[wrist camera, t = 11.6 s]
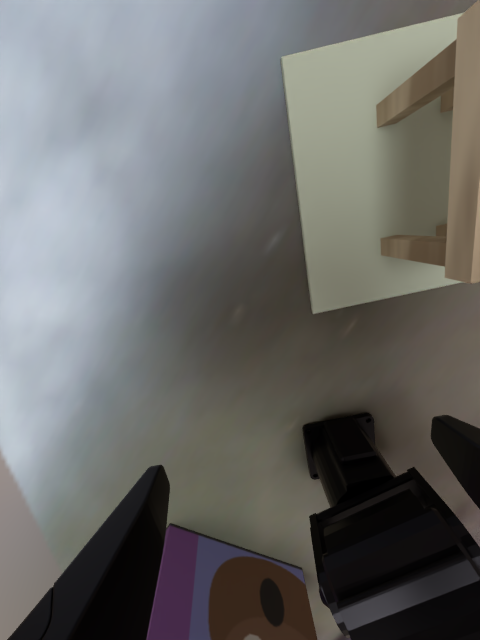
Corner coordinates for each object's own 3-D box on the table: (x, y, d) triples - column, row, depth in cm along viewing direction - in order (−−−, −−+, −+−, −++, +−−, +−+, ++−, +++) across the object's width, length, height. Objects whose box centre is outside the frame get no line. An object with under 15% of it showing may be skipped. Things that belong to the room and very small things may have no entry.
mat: (514, 269, 20) (519, 270, 20) (311, 312, 21) (313, 314, 20) (554, -6, 15) (562, -12, 15) (280, 60, 15) (281, 56, 15)
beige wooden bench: (468, 75, 16) (687, -64, 8) (457, 243, 19) (606, 254, 12) (369, 98, 16) (496, -17, 8) (375, 261, 19) (470, 283, 12)
